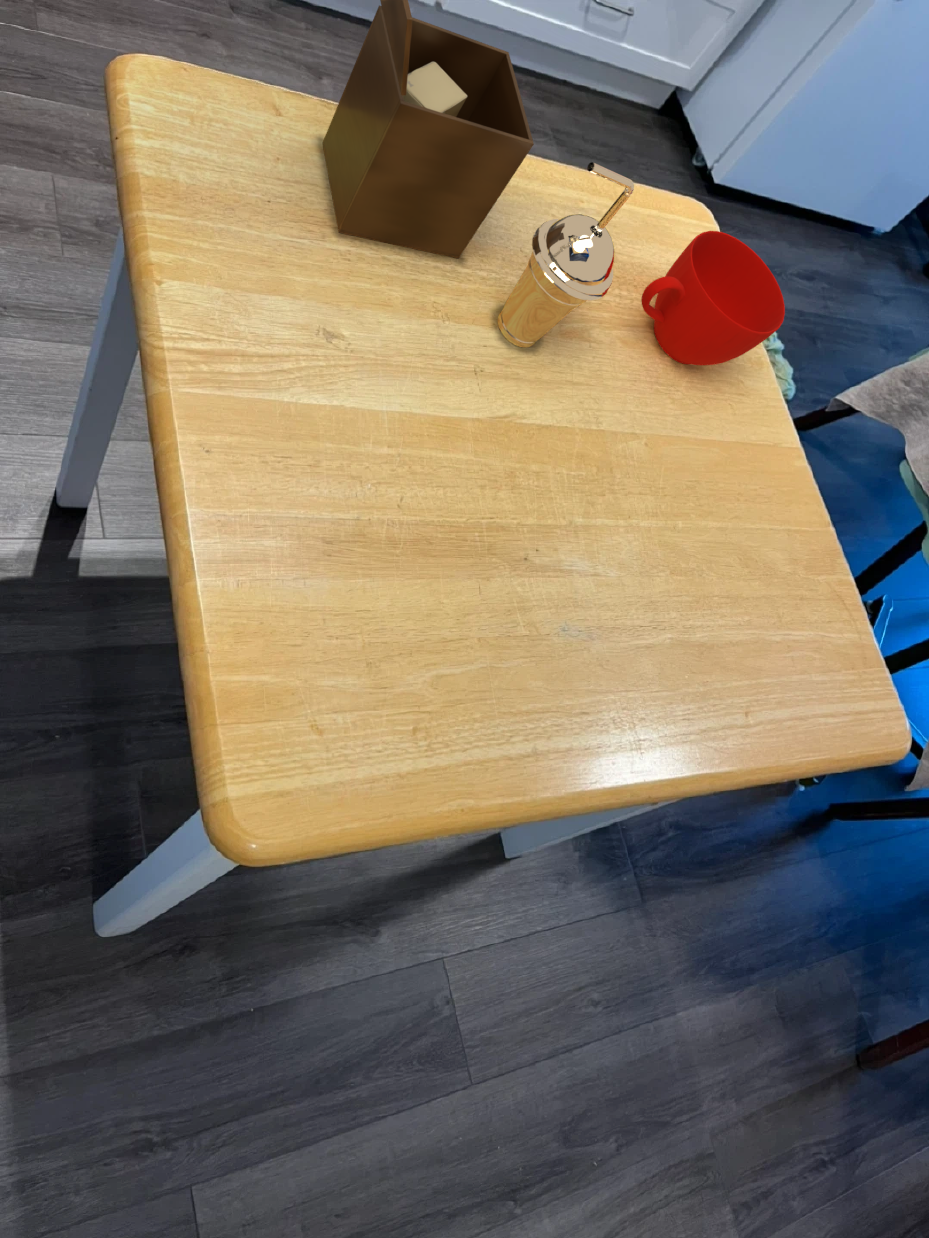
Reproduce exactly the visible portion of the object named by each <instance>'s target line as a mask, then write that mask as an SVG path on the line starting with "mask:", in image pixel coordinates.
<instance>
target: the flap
mask: <svg viewBox="0 0 929 1238" xmlns="http://www.w3.org/2000/svg"><path fill="white" fill-rule="evenodd" d="M380 6H382V10H383V15H384V19H385V24H386V29H387V33H388V38H389V42H390V47H391V51H392V56H393V60H394V65H395V69H396V74H397V78H398V83H399V87H400V92H401V95H406V90H407V78H408V66H409V54H410V42H411V30H412V17H413V16H412V12H411V7H410V2H409V0H380Z"/></svg>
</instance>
